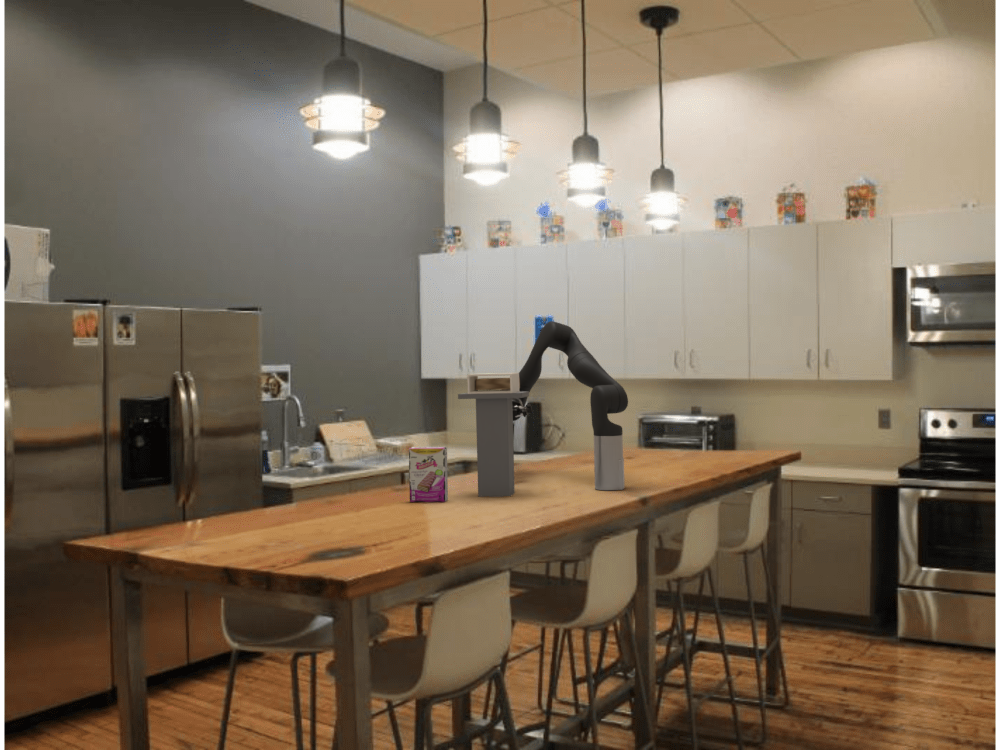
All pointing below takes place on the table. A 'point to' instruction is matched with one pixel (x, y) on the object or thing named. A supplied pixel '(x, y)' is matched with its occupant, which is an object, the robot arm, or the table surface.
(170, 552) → the table surface
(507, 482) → the charcoal pedestal
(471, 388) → the sleeve
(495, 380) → the mailer tray
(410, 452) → the candy bar box
